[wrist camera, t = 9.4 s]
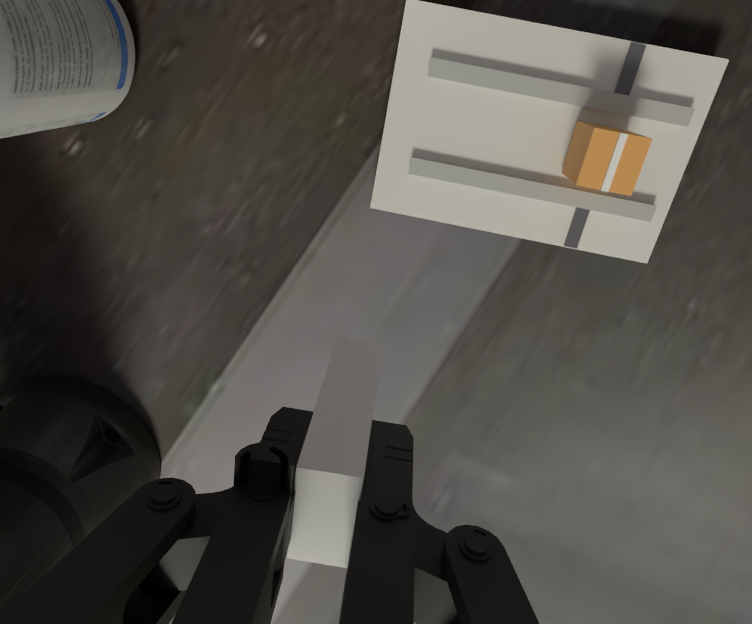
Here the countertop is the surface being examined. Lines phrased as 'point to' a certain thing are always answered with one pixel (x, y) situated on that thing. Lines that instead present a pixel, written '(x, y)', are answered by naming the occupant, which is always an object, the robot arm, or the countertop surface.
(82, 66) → the supplement tub
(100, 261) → the countertop surface
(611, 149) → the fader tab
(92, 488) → the robot arm
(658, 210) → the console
